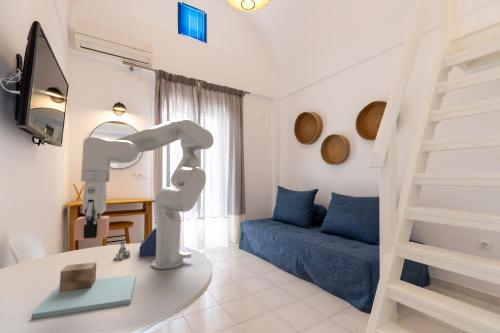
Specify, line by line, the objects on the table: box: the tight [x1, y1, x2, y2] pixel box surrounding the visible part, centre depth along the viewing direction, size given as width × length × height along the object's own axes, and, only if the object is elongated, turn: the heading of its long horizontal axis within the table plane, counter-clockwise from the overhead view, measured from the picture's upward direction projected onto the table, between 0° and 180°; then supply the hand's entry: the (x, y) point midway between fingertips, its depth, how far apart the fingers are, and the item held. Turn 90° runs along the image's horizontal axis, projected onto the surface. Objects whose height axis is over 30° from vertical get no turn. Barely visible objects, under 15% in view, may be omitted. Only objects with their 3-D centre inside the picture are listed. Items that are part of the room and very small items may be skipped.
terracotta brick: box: [73, 215, 110, 241], centre depth 73 cm, size 8×6×6 cm
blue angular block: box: [138, 226, 157, 258], centre depth 113 cm, size 12×12×12 cm
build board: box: [31, 274, 137, 320], centre depth 71 cm, size 22×18×1 cm
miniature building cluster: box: [112, 240, 131, 261], centre depth 104 cm, size 9×9×8 cm
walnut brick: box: [59, 262, 97, 292], centre depth 74 cm, size 8×6×6 cm
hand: (92, 234), depth 73 cm, fingers closed on terracotta brick, 5 cm apart
